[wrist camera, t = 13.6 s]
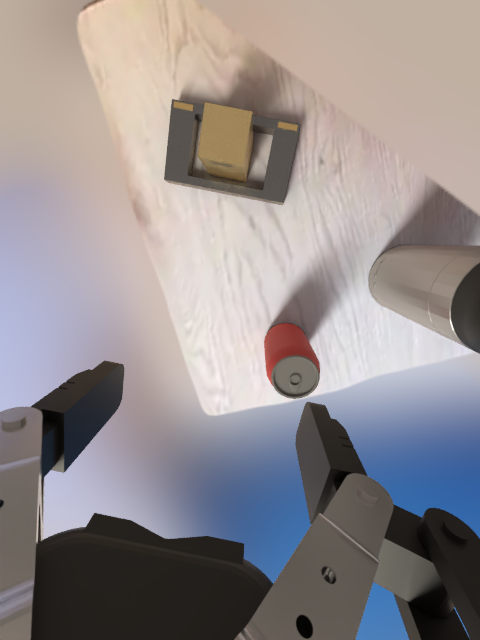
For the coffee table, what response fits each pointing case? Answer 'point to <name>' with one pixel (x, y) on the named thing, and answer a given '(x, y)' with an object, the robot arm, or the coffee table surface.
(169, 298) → the coffee table surface
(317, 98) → the coffee table surface
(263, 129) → the grey rectangular frame
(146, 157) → the coffee table surface
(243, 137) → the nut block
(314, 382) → the beer can
